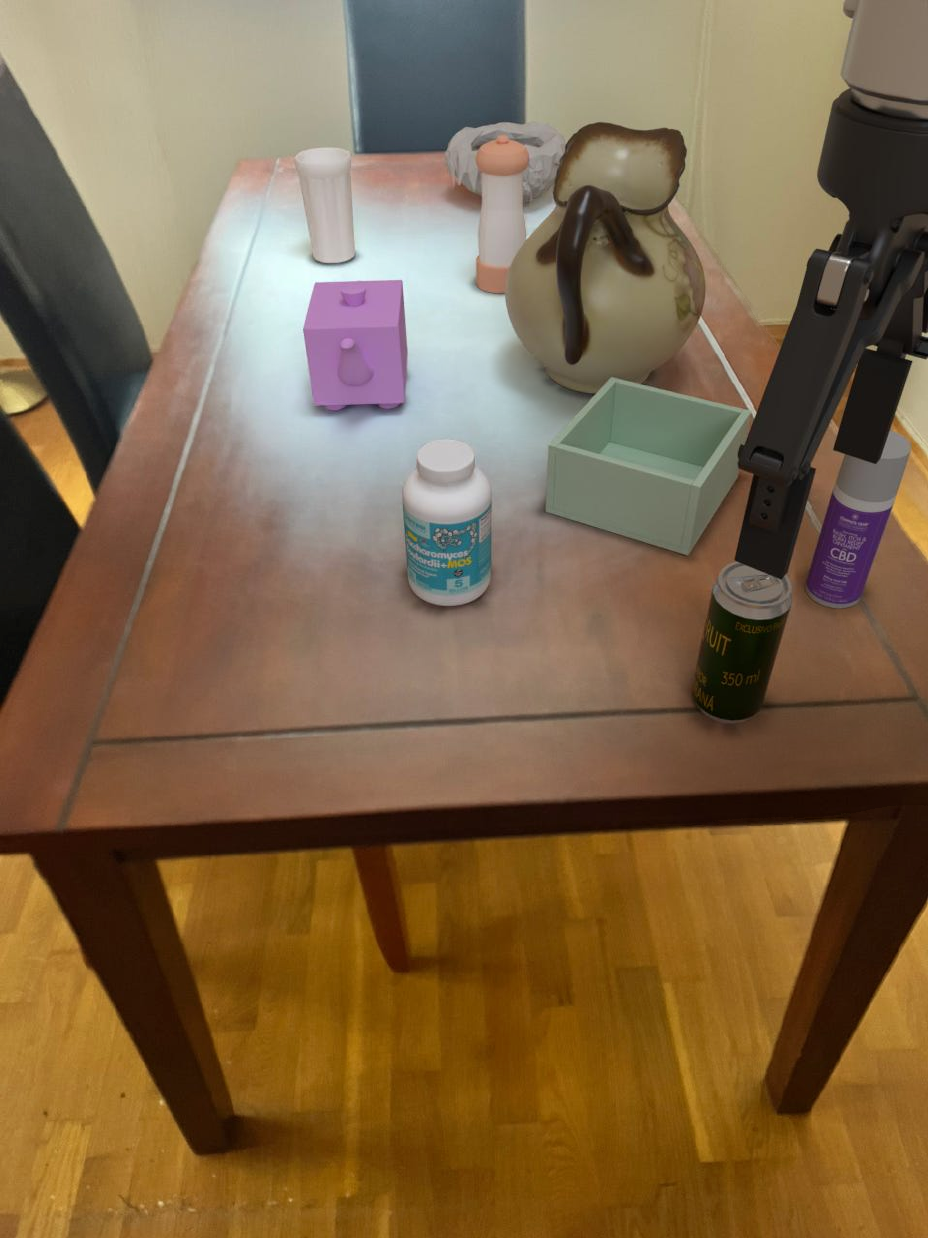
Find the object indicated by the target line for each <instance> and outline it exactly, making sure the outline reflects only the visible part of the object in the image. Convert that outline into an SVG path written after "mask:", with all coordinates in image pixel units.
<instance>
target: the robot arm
mask: <svg viewBox="0 0 928 1238" xmlns="http://www.w3.org/2000/svg"><path fill="white" fill-rule="evenodd" d="M842 6H843V7H842V11H843V13H844V15H845V17H847V18H849V19H852V21H851V26H850V30H849V32H848V37H847V41H846V46H845V51H844V54H843V60H842V64H841V69H840V76H841V79H842V80H843V81H844V82H845V84H846V85H847V87H848V88H847V89H845V90H843V91H842V92H841V93H840V94H838V97H837V98H835V99H834V100H832V104H831V107H830V112H829V117H828V121H827V125H826V130H825V135H824V139H823V143H822V147H821V153H820V157H819V162H818V165H817V171H816V172H817V173H816V177H817V182H818V184H819V186H820V188H821V189H822V190H823V191H824V193H826V194H827V195H829V197H831V198H833V199H837V200H838V201H840V202H841V203H842V204H843V205H844V206H845V207H846V209H847V211H848V220H847V221H846V222H845V224H844V228H843V230H842V233H837V234H836V235H835V236H834V237H833V240H832V242H831V244H830V247H829V248H828V250H826V249H821V248H815V249H814V250H813V252H812V253H811V255H810V257H809V258H808V260H807V263H806V269H805V273H804V276H803V280H802V283H801V288H800V292H799V295H798V299H797V301H796V302H797V303H796V306H795V308H794V311H793V313H792V317H791V319H790V322H789V324H788V327H787V329H786V332H785V335H784V338H783V341H782V343H781V345H780V349H779V352H778V354H777V356H776V359H775V362H774V364H773V368H772V370H771V373H770V375H769V378H768V380H767V384H766V386H765V389H764V391H763V394H762V397H761V399H760V401H759V405H758V407H757V410H756V412H755V416H754V418H753V421H752V424H751V426H750V429H749V431H748V433H747V436H746V441H745V445H742V444H740V447H739V450H738V458H739V461H738V468H739V470H741V471H744V472H746V473H749V474H752V479H751V484H750V487H749V492H748V497H747V502H746V505H745V509H744V515H743V519H742V523H741V527H740V531H739V532H740V533H739V537H738V540H737V541H738V542H737V546H736V550H735V554H734V559H733V560H734V562H739V563H742V564H744V565H746V566H749V567H751V568H754V569H756V570H759V571H761V572H764V573H766V574H769V575H771V576H773V577H776V578H778V579H781V580H782V579H783V577H784V576H785V575H786V576H787V574H788V572H789V570H790V569H789V568H790V565H791V561H792V557H793V554H794V551H795V546H796V543H797V539H798V536H799V533H800V529H801V525H802V521H803V519H804V515H805V511H806V507H807V503H808V501H809V496H810V493H811V489H812V486H813V481H814V479H815V475H816V471H817V468H816V467H812V462H813V460H814V458H815V456H816V453H817V452H818V449H819V447H820V445H821V443H822V441H823V439H824V436H825V434H826V432H827V430H828V429H829V426H830V424H831V422H832V419H833V418H834V415H835V414H836V411H837V409H838V406H839V405H840V402H841V400H842V398H843V396H844V394H845V391H846V390H847V387H848V385H849V383H850V381H851V379H852V382H851V385H850V389H849V391H848V392H849V393H848V395H847V399H846V402H845V407H844V410H843V413H842V417H841V420H840V423H839V427H838V430H837V434H836V437H835V441H834V445H833V448H832V451H834V452H837V453H841V454H844V455H845V454H846V455H849V456H852V457H855V458H858V459H861V460H864V461H867V462H870V463H873V464H877V462H878V461H879V460H880V458H881V455H882V452H883V449H884V446H885V443H886V440H887V437H888V434H889V431H890V430H891V427H892V425H893V422H894V419H895V416H896V413H897V410H898V407H899V404H900V401H901V398H902V395H903V391H904V390H905V389H904V388H905V385H906V383H907V379H908V376H909V374H910V371H911V368H912V365H913V362H914V361H913V360H911V359H907V358H906V357H907V356H911V357H915V358H919V359H922V360H928V336H923V334H926V335H927V334H928V0H844V2H843V5H842ZM872 346H875V347H877V348H876V350H875V349H870V348H868V347H872ZM853 374H854V375H853ZM852 377H853V378H852Z"/></svg>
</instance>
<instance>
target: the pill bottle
mask: <svg viewBox="0 0 928 1238" xmlns="http://www.w3.org/2000/svg"><path fill="white" fill-rule="evenodd" d="M401 490H402V491H401V499H402V501H401V502H402V513H403V514H402V515H403V527H404V541H405V542H404V543H405V554H406V556H405V557H406V571H407V572H406V573H407V581H408V585H409V587H410V589H411V591H412V592H413V593H414V595H416V596H417V597H418V598H419V599H421V600H423V601H424V602H427V603H429V604H431V605H436V606H443V607H456V606H462V605H465V604H468V603H471V602H473V601H475V600H477V599H479V597H481V596H482V595H483V594H484V593H485V592H486V591H487V589H488V588H489V585H490V583H491V578H492V511H493V509H492V508H493V506H492V505H493V501H492V500H493V499H492V496H493V493H492V492H493V491H492V484H491V482H490V480H489V477H488V476H487V475H486V474H485V472H484V471H483V470H482V469H480V468H479V467H478V466H477V465H476V454H475V451H474V449H473V448H472V447H471V445H469V444H468V443H466V442H464V441H461V440H458V439H452V438H441V439H435V440H431V441H429V442H427V443H425V444H423V445H422V446H420V448H419V449H418V450H417V453H416V468H414V469H413V470H412V471H411V472H410V473H408V476H407V477H406V478H405V480H404V482H403V485H402V489H401Z"/></svg>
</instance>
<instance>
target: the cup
mask: <svg viewBox="0 0 928 1238" xmlns="http://www.w3.org/2000/svg"><path fill="white" fill-rule="evenodd" d="M293 162H294V166H295V169H296V171H297V175H298V180H299V185H300V190H301V197H302V202H303V205H304V206H303V208H304V212H305V218H306V223H307V224H306V225H307V229H308V234H309V240H310V246H311V250H312V256H313V258H314V260H316V261H318V262H320V263H326V264H336V263H337V264H338V263H342V262H343V263H344V262H347V261H349V260H352V259H353V258H354V257H355V255H356V248H355V231H354V230H355V229H354V228H355V227H354V209H353V191H352V175H351V167H352V153H351V152H350V151H348V150H347V149H344V148H341V147H332V146H331V147H329V146H328V147H327V146H326V147H314V148H307V149H305V150H302V151H299V152H298V153H297V154H295V156H294V159H293Z"/></svg>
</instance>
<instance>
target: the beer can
mask: <svg viewBox="0 0 928 1238" xmlns="http://www.w3.org/2000/svg"><path fill="white" fill-rule="evenodd" d="M792 587H793V586H792V582H791V580H790V578H789V576H788V575H787V574H786V575H785V576H784V577H783V579H782V580H781V579H778V578H776V577H773V576H771V575H769V574H766V573H764V572H761V571H759V570H756V569H754V568H751V567H749V566H746V565H744V564H742V563H739V562H737V561H734V562H730V563H728V564H727V565H726V566H724V567H722V569H721V570H720V572H719V573H718V575H717V578H716V579H715V581H714V583H713V584H712V589H711V594H710V598H709V603H708V608H707V612H706V617H705V623H704V626H703V632H702V636H701V641H700V646H699V651H698V656H697V660H696V665H695V670H694V675H693V680H692V684H691V695H692V697H693V701H694V703H695V706H696V708H697V709H698V710H699V711H700V712H701V714H703V716H706V717H707V718H708V719H710V720H712V721H714V722H718V723H720V724H726V725H736V724H737V725H738V724H742V723H744V722H747V721H749V720H751V718H753V717H754V716H755V715H756V714H757V713H758V712H759V711H760V710H761V708H762V707H763V704H764V701H765V698H766V694H767V691H768V687H769V685H770V681H771V678H772V677H771V676H772V673H773V669H774V667H775V663H776V659H777V655H778V652H779V649H780V645H781V641H782V639H783V635H784V632H785V629H786V625H787V621H788V617H789V615H790V611H791V608H792V604H793V599H792V598H793V595H792V592H793V590H792V589H793V588H792Z"/></svg>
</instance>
